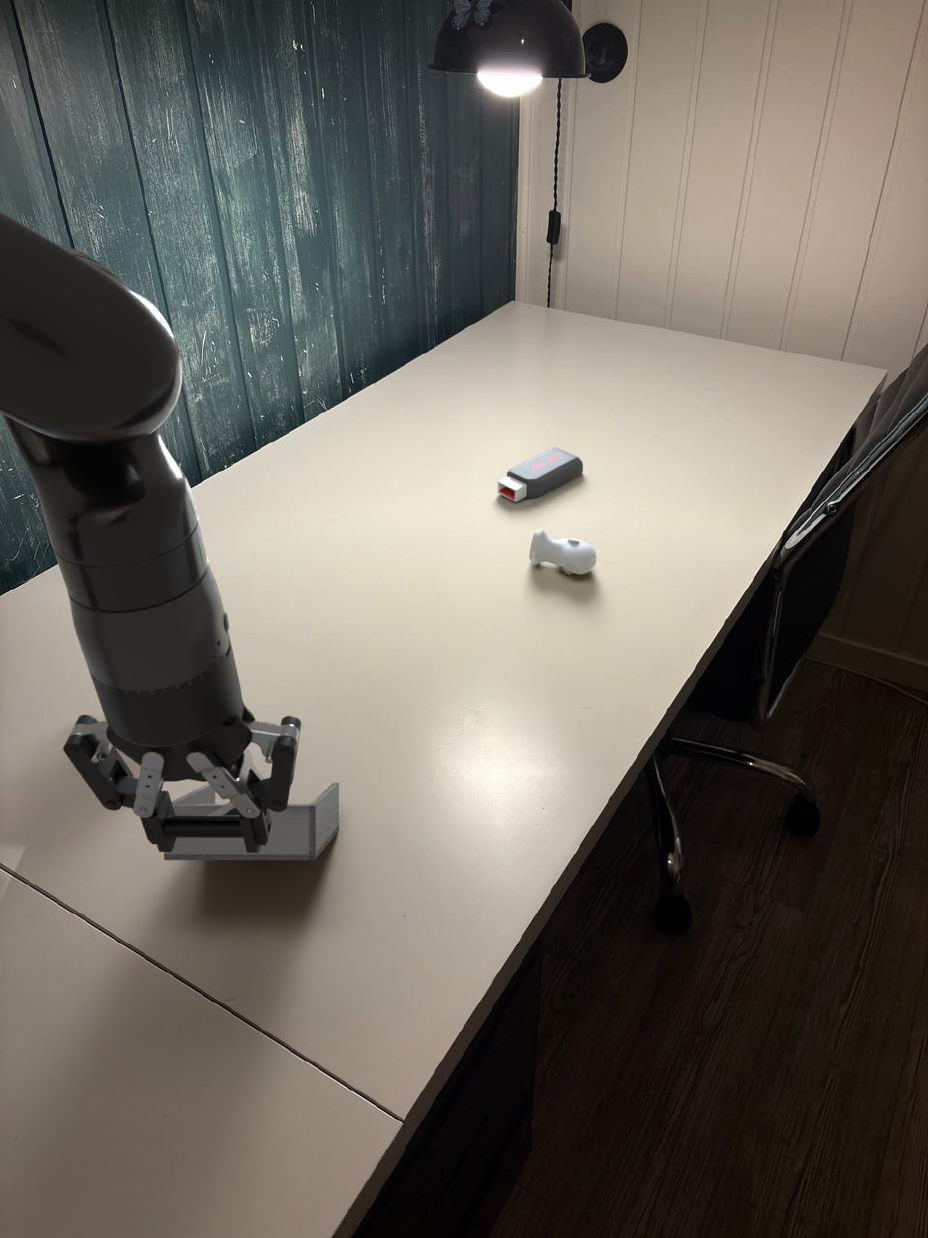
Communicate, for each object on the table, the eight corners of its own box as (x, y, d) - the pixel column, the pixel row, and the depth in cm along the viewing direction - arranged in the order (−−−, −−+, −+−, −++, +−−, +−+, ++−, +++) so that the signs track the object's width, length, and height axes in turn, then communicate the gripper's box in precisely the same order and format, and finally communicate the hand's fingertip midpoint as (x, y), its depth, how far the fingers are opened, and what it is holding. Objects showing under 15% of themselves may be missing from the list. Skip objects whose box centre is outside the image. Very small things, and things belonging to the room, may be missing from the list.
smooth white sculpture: (599, 574, 107) (583, 585, 103) (538, 554, 110) (520, 564, 106) (607, 540, 105) (591, 549, 101) (545, 520, 108) (527, 529, 104)
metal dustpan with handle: (115, 892, 58) (115, 817, 58) (209, 830, 77) (209, 774, 78) (289, 893, 57) (289, 817, 58) (339, 830, 77) (339, 774, 77)
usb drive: (582, 473, 123) (584, 454, 122) (521, 506, 117) (521, 487, 115) (554, 459, 126) (554, 441, 125) (492, 491, 120) (492, 473, 118)
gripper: (-3, 686, 47) (85, 889, 57) (276, 687, 47) (314, 891, 57) (52, 599, 53) (123, 797, 63) (300, 599, 52) (330, 799, 63)
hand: (213, 841), depth 60 cm, fingers closed on metal dustpan with handle, 5 cm apart
